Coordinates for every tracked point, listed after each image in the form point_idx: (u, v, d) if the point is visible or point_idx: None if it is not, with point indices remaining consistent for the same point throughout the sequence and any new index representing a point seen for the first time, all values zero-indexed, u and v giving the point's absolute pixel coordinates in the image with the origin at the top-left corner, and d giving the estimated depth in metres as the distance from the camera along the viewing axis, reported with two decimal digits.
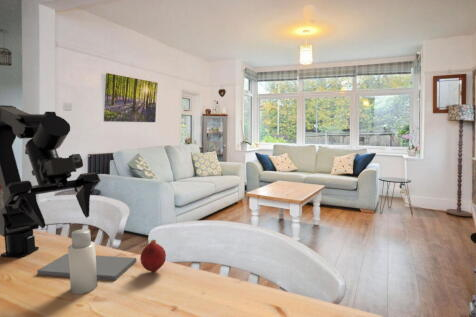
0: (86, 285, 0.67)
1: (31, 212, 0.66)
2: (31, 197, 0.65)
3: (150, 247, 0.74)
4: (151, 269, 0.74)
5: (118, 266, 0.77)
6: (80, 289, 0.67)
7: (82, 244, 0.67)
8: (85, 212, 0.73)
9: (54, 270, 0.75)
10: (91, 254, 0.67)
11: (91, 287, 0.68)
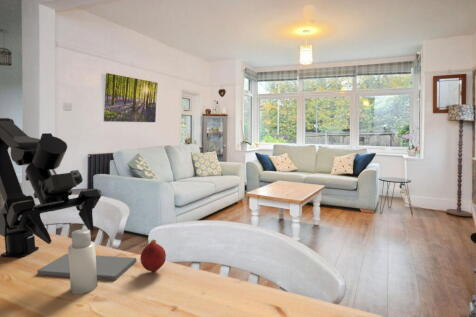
0: (86, 285, 0.67)
1: (36, 230, 0.67)
2: (35, 214, 0.67)
3: (150, 247, 0.74)
4: (151, 269, 0.74)
5: (118, 266, 0.77)
6: (80, 289, 0.67)
7: (82, 244, 0.67)
8: (89, 226, 0.74)
9: (54, 270, 0.75)
10: (91, 254, 0.67)
11: (91, 287, 0.68)
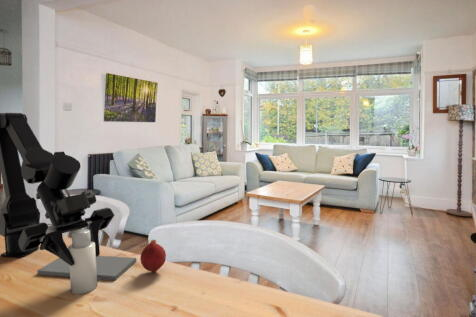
0: (86, 285, 0.67)
1: (58, 251, 0.66)
2: (57, 236, 0.65)
3: (150, 247, 0.74)
4: (151, 269, 0.74)
5: (118, 266, 0.77)
6: (80, 289, 0.67)
7: (82, 244, 0.67)
8: (95, 251, 0.70)
9: (54, 270, 0.75)
10: (91, 254, 0.67)
11: (91, 287, 0.68)
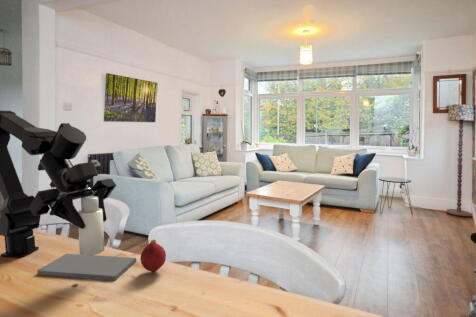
0: (96, 247, 0.71)
1: (69, 216, 0.70)
2: (68, 201, 0.69)
3: (150, 247, 0.74)
4: (151, 269, 0.74)
5: (118, 266, 0.77)
6: (90, 251, 0.71)
7: (91, 208, 0.71)
8: None
9: (54, 270, 0.75)
10: (100, 218, 0.72)
11: (100, 249, 0.72)
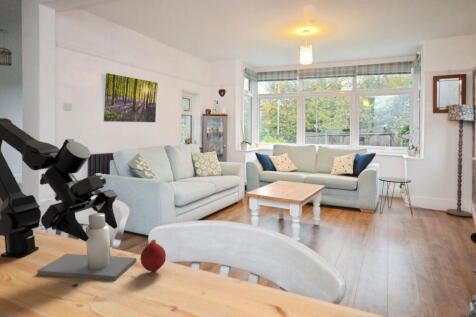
0: (104, 261, 0.76)
1: (72, 229, 0.72)
2: (71, 215, 0.72)
3: (150, 247, 0.74)
4: (151, 269, 0.74)
5: (118, 266, 0.77)
6: (99, 265, 0.76)
7: (100, 225, 0.76)
8: (113, 224, 0.81)
9: (54, 270, 0.75)
10: (107, 233, 0.77)
11: (108, 262, 0.77)
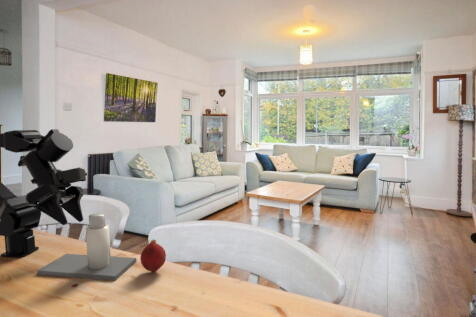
0: (104, 261, 0.76)
1: (53, 211, 0.77)
2: (58, 197, 0.77)
3: (150, 247, 0.74)
4: (151, 269, 0.74)
5: (118, 266, 0.77)
6: (99, 264, 0.76)
7: (100, 225, 0.76)
8: (79, 217, 0.87)
9: (54, 270, 0.75)
10: (107, 233, 0.77)
11: (108, 262, 0.77)
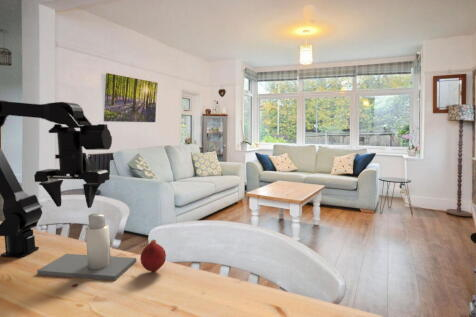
0: (104, 261, 0.76)
1: (91, 193, 0.85)
2: None
3: (150, 247, 0.74)
4: (151, 269, 0.74)
5: (118, 266, 0.77)
6: (99, 264, 0.76)
7: (99, 224, 0.76)
8: (59, 202, 0.87)
9: (54, 270, 0.75)
10: (107, 233, 0.77)
11: (108, 262, 0.77)
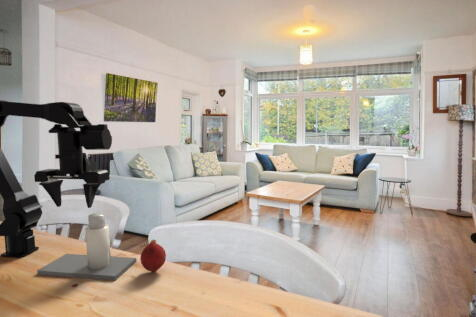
0: (104, 261, 0.76)
1: (91, 193, 0.85)
2: None
3: (150, 247, 0.74)
4: (151, 269, 0.74)
5: (118, 266, 0.77)
6: (99, 265, 0.76)
7: (99, 225, 0.76)
8: (59, 202, 0.87)
9: (54, 270, 0.75)
10: (107, 233, 0.77)
11: (108, 262, 0.77)
